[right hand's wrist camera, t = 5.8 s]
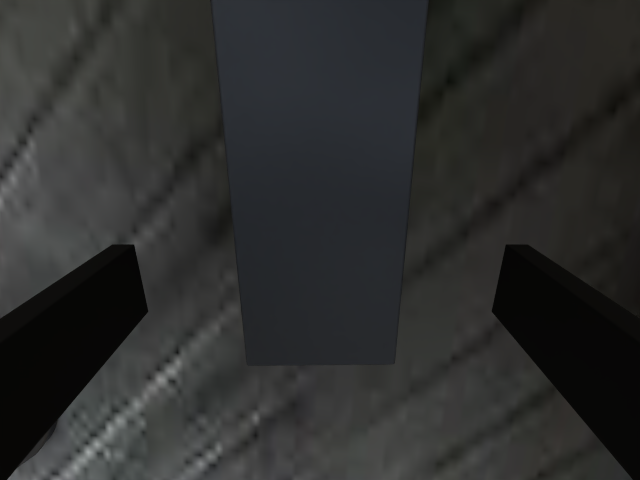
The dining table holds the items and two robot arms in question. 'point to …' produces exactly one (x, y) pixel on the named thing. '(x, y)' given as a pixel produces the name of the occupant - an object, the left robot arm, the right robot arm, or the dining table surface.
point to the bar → (320, 170)
